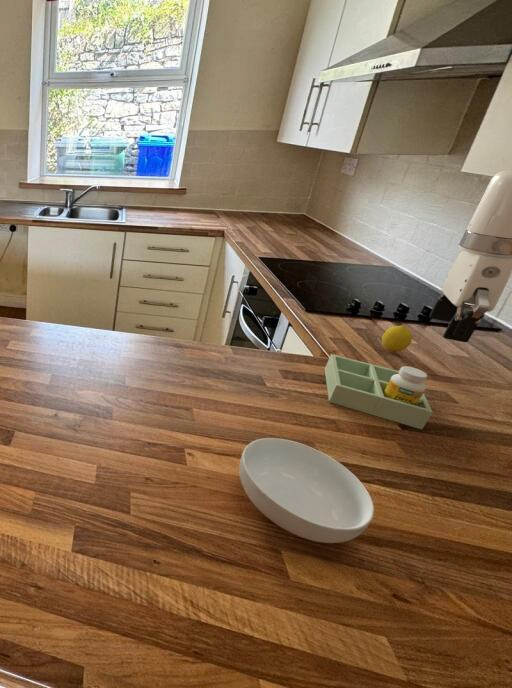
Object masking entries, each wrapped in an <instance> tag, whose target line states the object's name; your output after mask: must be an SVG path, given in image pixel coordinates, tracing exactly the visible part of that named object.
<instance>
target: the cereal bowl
mask: <svg viewBox="0 0 512 688" xmlns="http://www.w3.org/2000/svg"><path fill="white" fill-rule="evenodd" d="M238 468H239V470H238V473H239V480H240V481H241V482H240V484H241V485H242V488H243V490H244V492H245V494H246V495H247V498H248V499H249V500H250V502H251V503H252V504H253V505H254V506H255V507H256V508H257V510H258V511H259V512H260V513H261V514H263V516H264V517H266V518H267V519H268V520H269V521H271V522H272V523H274V524H275V525H277V526H278V527H280V528H281V529H283V530H284V531H286V532H288V533H291V534H293V535H295V536H297V537H300V538H302V539H306V540H308V541H312V542H317V543H323V544H324V543H325V544H339V543H345V542H348V541H351V540H353V539H355V538H357V537H359V536H360V535H361V534H363V533H364V532H365V531H366V530H367V528H368V527H369V526H370V524H371V523H372V521H373V519H374V515H375V506H374V502H373V499H372V496H371V495H370V493H369V491H368V490H367V488H366V487H365V485H364V484H363V483H362V482H361V481H360V479H359V478H358V477H357V476H356V475H355V474H354V473H353V472H352V471H351V470H349V469H348V468H347V467H346V466H345V465H344V464H342V463H341V462H339V461H338V460H336V459H334V458H333V457H331V456H329V455H328V454H326V453H324V452H322V451H321V450H318V449H316V448H314V447H311V446H309V445H307V444H304V443H301V442H297V441H294V440H290V439H285V438H277V437H264V438H259V439H258V438H257V439H255V440H253V441H251V442H249V444H247V445H246V446H245V447H244V449H243V451H242V453H241V457H240V461H239V466H238Z"/></svg>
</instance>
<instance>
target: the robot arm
mask: <svg viewBox="0 0 512 688" xmlns="http://www.w3.org/2000/svg"><path fill="white" fill-rule="evenodd" d="M457 249H458V250H460V253H459V254H458V256H457V257H456V259H455V261H454V262H453V264H452V266H451V267H450V269H449V271H448V272H447V275H446V277H445V279H444V282H443V284H442V287H441V292H440V293H439V295H438V297H437V299H436V301H435V304H434V305H433V308H432V310H431V311H430V313H429V315H428V317H429V318H430V319H431V320H437V321H443V322H448V325H447V327H446V329H445V332H444V333H443V334H442V337H443V338H444V339H446V340H450V341H456V342H461V343H468V342H469V341H470V339H471V337H472V335H473V334H474V332H475V330H476V328H477V327H478V325H479V324H481V321H482V319H484V317H485V314H486V313H488V312H492V311H494V310H495V308H496V307H497V305H498V302H499V300H500V298H501V296H502V294H503V293H504V290H505V288H506V286H507V284H508V282H509V279H510V277H511V275H512V169H505V170H501V171H498V172H497V173H496V174H494V175H493V176H492V177H491V179H490V181H489V182H488V185H487V187H486V189H485V191H484V193H483V195H482V197H481V199H480V202H479V203H478V205H477V207H476V208H475V211H474V213H473V215H472V217H471V219H470V221H469V223H468V225H467V227H466V230H464V233H463V235H462V237H461V239H460V241H459V244H458V246H457ZM465 310H467V311H466V312H465Z"/></svg>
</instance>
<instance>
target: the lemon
mask: <svg viewBox="0 0 512 688" xmlns="http://www.w3.org/2000/svg"><path fill="white" fill-rule="evenodd" d="M412 333H413V332H411V330H410V329H409V328H407V327H406V326H405V325H394V326H390V327H389V328H387V330H386V331H385V332H383V334H382V337H381V343H382V345H383V347H384V348H385V349H387V350H388V352H389V353H393V352H402V351H404V350H406V349H407V348H408V347H410V345H411V343H412V340H413V334H412Z"/></svg>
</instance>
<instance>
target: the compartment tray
mask: <svg viewBox="0 0 512 688" xmlns="http://www.w3.org/2000/svg"><path fill="white" fill-rule="evenodd" d="M399 371H400V370H397V369H393V368H388V367H385V366H381V365H376V364H373V363H369V362H365V361H360V360H356V359H353V358H349V357H346V356H345V357H344V356H341V355H336V354H333V353H330V356H329V358H328V360H327V363H326V365H325V367H324V375H325V383H326V389H327V390H326V391H327V397H328V402H329V403H332V404H335V405H339V406H341V407H345V408H348V409H351V410H355V411H358V412H362V413H365V414H369V415H372V416H375V417H379V418H382V419H384V420H388V421H392V422H395V423H398V424H401V425H406V426H408V427H412V428H415V429H418V430H423V429H424V427H425V425H426V424H427V422H428V421H429V419H430V418H431V416H432V415H433V413H434V412H433V410H432V408H431V405H430V403H429V402H428V399H427V397H426V395H425V392H424V393H423V395H422V396H421V398H420V400H419V402H418V403H417V405H416V406H415V405H412V404H408V403H405V402H401V401H397V400H394V399H390V398H387V397H384V395H383V392H384V390H385V389H386V387H387V385H388V383H389V381H390V379H391V377H392V376H393V375H395V374H399Z"/></svg>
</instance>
